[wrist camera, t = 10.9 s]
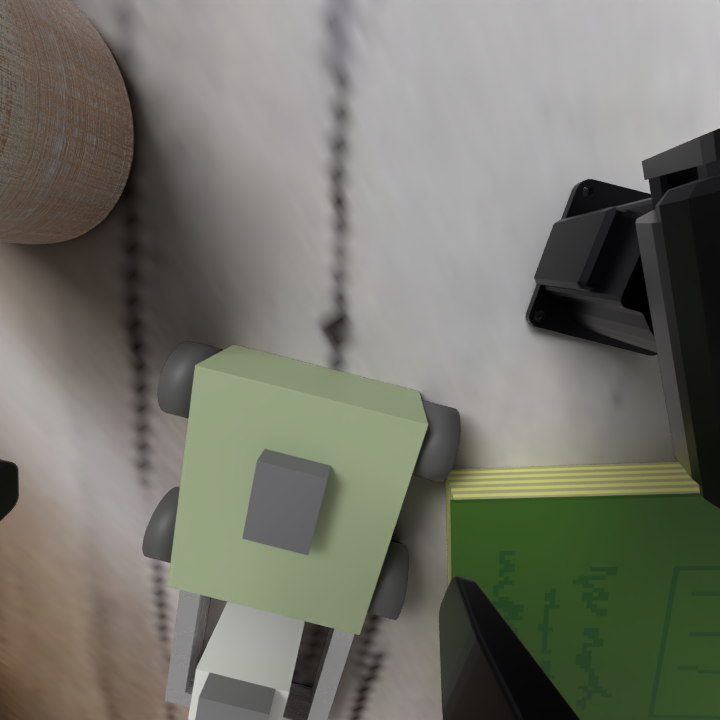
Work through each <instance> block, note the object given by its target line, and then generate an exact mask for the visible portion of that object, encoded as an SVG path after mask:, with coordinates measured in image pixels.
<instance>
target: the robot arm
mask: <svg viewBox="0 0 720 720" xmlns="http://www.w3.org/2000/svg"><path fill="white" fill-rule="evenodd" d="M642 166H643V172H644V178H645V180H647V179H649V185H650V191H651V194H648V193H644V192H640V191H636V190H632V189H628V188H624V187H620V186H616V185H613V184H609V183H605V182H601V181H597V180H593V179H587V180H585V181H582V182H580V183H578V184H577V185H575V186H574V188H573V190H572V192H571V194H570V197H569V200H568V202H567V205H566V208H565V211H564V213H563V216H562V219H561V220H560V221H558V222H556V223H555V224H554V225H553V228H552V230H551V233H550V236H549V239H548V241H547V244H546V247H545V249H544V252H543V255H542V258H541V260H540V263H539V266H538V268H537V271H536V274H535V277H534V278H535V281H536V283H537V286H536V288H535V291H534V294H533V296H532V299H531V302H530V304H529V307H528V310H527V312H526V320H527V321H528V323H529V324H531V325H534V326H536V327H540V328H544V329H548V330H552V331H556V332H560V333H563V334H567V335H571V336H575V337H579V338H583V339H587V340H591V341H595V342H599V343H603V344H607V345H611V346H614V347H618V348H622V349H626V350H630V351H634V352H638V353H642V354H646V355H657V354H658V360H659V366H660V372H661V378H662V383H663V389H664V395H665V401H666V407H667V413H668V419H669V425H670V431H671V437H672V442H673V448H674V454H675V458H676V459H677V460H678V461H679V463H680V464H681V465H682V467H683V468H684V469H685V471H686V472H687V473H688V474H689V476H690V477H691V478H692V480H694V481H695V482H696V483H697V484H699V490H700V495H701V496H702V497H703V498H704V499H705V500H707V501H708V502H710V503H711V504H713V505H714V506H716V507H718V508H719V509H720V129H717V130H715V131H712V132H710V133H707V134H705V135H703V136H700V137H698V138H695V139H693V140H691V141H688V142H686V143H684V144H681V145H679V146H677V147H674V148H672V149H670V150H667V151H665V152H663V153H660V154H658V155H656V156H653V157H651V158H649V159H646V160H644V161H642ZM584 187H586V188H587V189H588V190H589V195H588V197H587V198H584V197H583V196H582V190H583V188H584ZM538 311H541V312H542V317H541V318H540V319H539V320H535V318H534V316H535V314H536V312H538ZM18 498H19V478H18V467H17V465H16V464H14V463H13V462H9V461H5V460H1V459H0V521H1V520H2V519H3V518H4V517H5V516H6V515H7V514H8V513H9V512H10V511H11V510H12V509H13V508H14V506H15V505H16V503H17V501H18ZM439 631H440V661H441V690H442V711H443V720H580V718H579V717H578V716H577V714H576V713H575V712H574V711H573V709H572V708H571V707H570V705H569V704H568V703H567V701H566V700H565V699H564V697H563V696H562V695H561V693H560V692H559V691H558V689H557V688H556V687H555V685H554V684H553V683H552V681H551V680H550V679H549V678H548V676H547V675H546V674H545V672H544V671H543V670H542V668H541V667H540V666H539V664H538V663H537V662H536V660H535V659H534V658H533V656H532V655H531V654H530V652H529V651H528V650H527V649H526V647H525V646H524V645H523V643H522V642H521V641H520V639H519V638H518V637H517V635H516V634H515V633H514V631H513V630H512V629H511V627H510V626H509V625H508V623H507V622H506V621H505V619H504V618H503V617H502V616H501V614H500V613H499V612H498V610H497V609H496V608H495V606H494V605H493V604H492V602H491V601H490V600H489V598H488V597H487V596H486V594H485V593H484V592H483V590H482V589H481V588H480V586H479V585H478V584H477V583H476V582H475V581H474V580H472V579H469V578H465V577H461V576H453V578H452V579H451V581H450V583H449V586H448V588H447V591H446V593H445V596H444V598H443V601H442V603H441V607H440V612H439Z"/></svg>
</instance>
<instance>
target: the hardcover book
mask: <svg viewBox="0 0 720 720" xmlns="http://www.w3.org/2000/svg"><path fill="white" fill-rule="evenodd" d="M445 481H446V527H447V572H448V586H449V583H450V581H451V579H452V578H453V576H461V577H465V578H469V579H472V580H474V581H475V582H476V583H477V584H478V585H479V586H480V588H481V589H482V590H483V592H484V593H485V594H486V596H487V597H488V598H489V600H490V601H491V602H492V604H493V605H494V606H495V608H496V609H497V610H498V612H499V613H500V614H501V616H502V617H503V618H504V619H505V621H506V622H507V623H508V625H509V626H510V627H511V629H512V630H513V631H514V633H515V634H516V635H517V637H518V638H519V639H520V641H521V642H522V643H523V645H524V646H525V647H526V649H527V650H528V651H529V652H530V654H531V655H532V656H533V658H534V659H535V660H536V662H537V663H538V664H539V666H540V667H541V668H542V670H543V671H544V672H545V674H546V675H547V676H548V678H549V679H550V680H551V681H552V683H553V684H554V685H555V687H556V688H557V689H558V691H559V692H560V693H561V695H562V696H563V697H564V699H565V700H566V701H567V703H568V704H569V705H570V707H571V708H572V709H573V711H574V712H575V713H576V714H577V716H578V717H579V718H580V720H720V509H719V508H718V507H716V506H714V505H713V504H711V503H710V502H708V501H707V500H705V499H704V498H703V497H702V496H701V495H700V490H699V484H697V483H696V482H695V481H694V480H692V478H691V477H690V476H689V474H688V473H687V472H686V471H685V469H684V468H683V467H682V465H681V464H680V463H679V461H676V462H647V463H618V464H589V465H560V466H531V467H502V468H473V469H452V470H451V472H450V474H449V476H448V477H447V479H446V480H445Z"/></svg>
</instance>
